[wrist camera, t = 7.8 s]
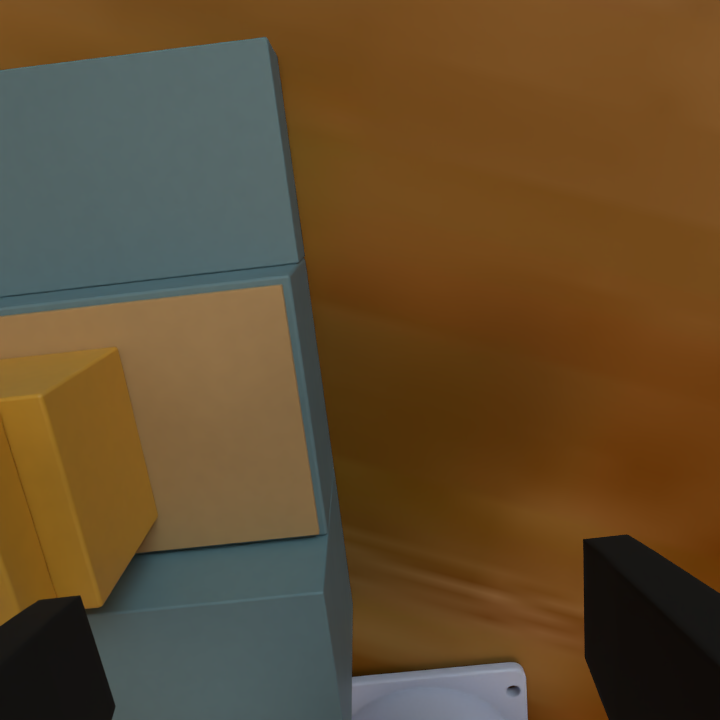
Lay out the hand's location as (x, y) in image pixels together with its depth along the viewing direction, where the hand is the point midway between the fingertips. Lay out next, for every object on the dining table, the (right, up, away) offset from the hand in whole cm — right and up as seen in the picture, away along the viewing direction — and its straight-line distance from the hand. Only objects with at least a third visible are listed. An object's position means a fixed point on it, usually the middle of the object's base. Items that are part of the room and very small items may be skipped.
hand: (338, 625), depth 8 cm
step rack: (-7, +3, +10) cm, 12 cm away
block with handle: (-7, +2, +6) cm, 9 cm away
